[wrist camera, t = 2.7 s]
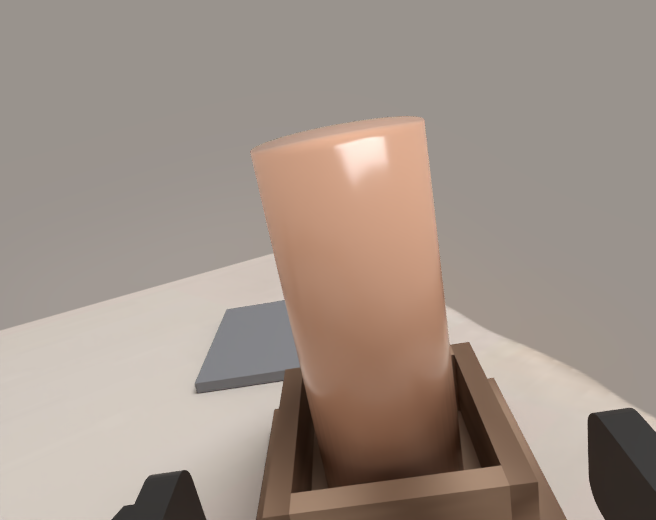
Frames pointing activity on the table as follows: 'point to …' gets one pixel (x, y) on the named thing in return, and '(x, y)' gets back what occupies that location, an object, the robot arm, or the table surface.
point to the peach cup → (364, 295)
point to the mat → (249, 348)
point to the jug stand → (416, 492)
